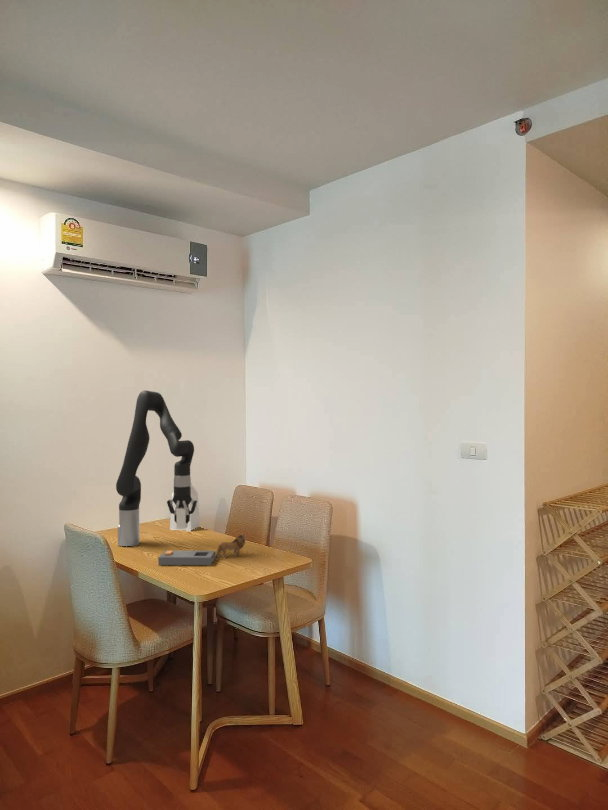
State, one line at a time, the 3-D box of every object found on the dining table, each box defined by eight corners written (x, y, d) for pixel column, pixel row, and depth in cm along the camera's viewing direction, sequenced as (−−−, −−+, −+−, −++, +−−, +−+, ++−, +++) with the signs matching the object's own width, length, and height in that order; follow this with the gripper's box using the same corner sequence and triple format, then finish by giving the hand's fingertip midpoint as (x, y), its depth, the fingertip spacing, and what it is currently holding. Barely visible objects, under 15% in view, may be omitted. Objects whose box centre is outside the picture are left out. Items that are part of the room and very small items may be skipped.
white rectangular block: (176, 528, 240) (176, 508, 240) (178, 526, 244) (179, 506, 244) (185, 528, 240) (185, 508, 240) (187, 526, 244) (187, 506, 244)
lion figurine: (242, 552, 244) (242, 532, 244) (248, 555, 240) (247, 535, 240) (212, 557, 236) (212, 537, 236) (217, 560, 232) (217, 540, 232)
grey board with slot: (158, 565, 226) (158, 555, 226) (165, 558, 236) (165, 548, 236) (210, 565, 225) (210, 555, 225) (215, 558, 235) (215, 548, 235)
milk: (169, 530, 286) (169, 481, 285) (179, 525, 297) (179, 478, 296) (190, 531, 283) (190, 482, 282) (199, 526, 294) (199, 479, 294)
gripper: (164, 486, 238) (164, 524, 239) (195, 486, 238) (195, 525, 238) (169, 483, 246) (169, 520, 246) (199, 483, 245) (199, 521, 246)
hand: (182, 522), depth 242 cm, fingers closed on white rectangular block, 4 cm apart
